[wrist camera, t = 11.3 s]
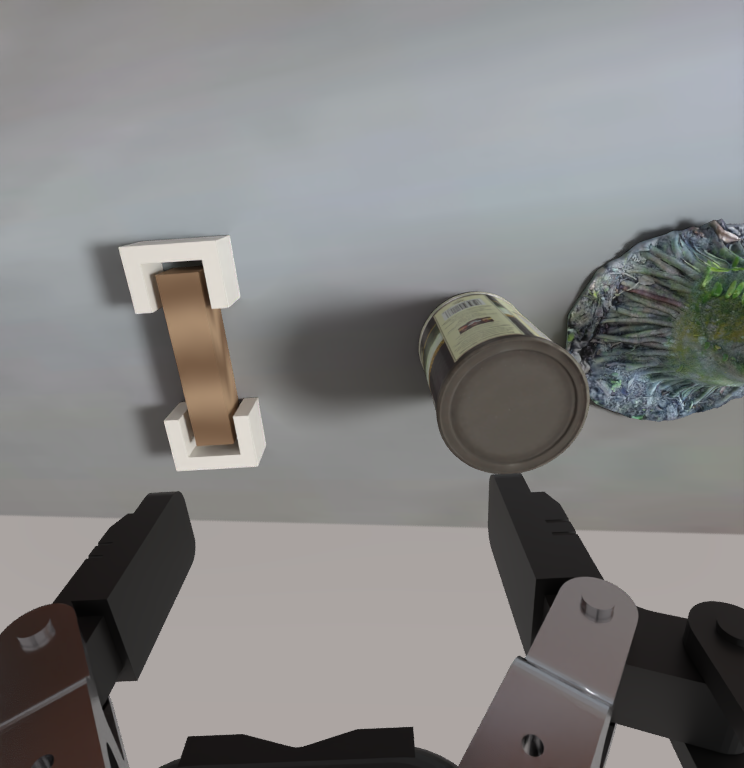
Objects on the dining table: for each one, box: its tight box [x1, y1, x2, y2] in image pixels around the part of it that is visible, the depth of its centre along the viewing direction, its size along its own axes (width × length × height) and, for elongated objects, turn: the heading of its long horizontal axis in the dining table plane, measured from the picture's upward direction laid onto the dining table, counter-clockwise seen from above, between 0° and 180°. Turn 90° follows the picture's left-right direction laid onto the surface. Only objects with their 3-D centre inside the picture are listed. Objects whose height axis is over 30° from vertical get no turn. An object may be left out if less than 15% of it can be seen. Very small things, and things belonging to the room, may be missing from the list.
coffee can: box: [419, 292, 590, 474], centre depth 39 cm, size 10×10×14 cm
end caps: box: [118, 235, 266, 471], centre depth 44 cm, size 21×8×4 cm, turn 4°
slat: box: [155, 266, 239, 446], centre depth 44 cm, size 16×4×4 cm, turn 4°
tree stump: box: [566, 219, 744, 422], centre depth 39 cm, size 18×20×18 cm
